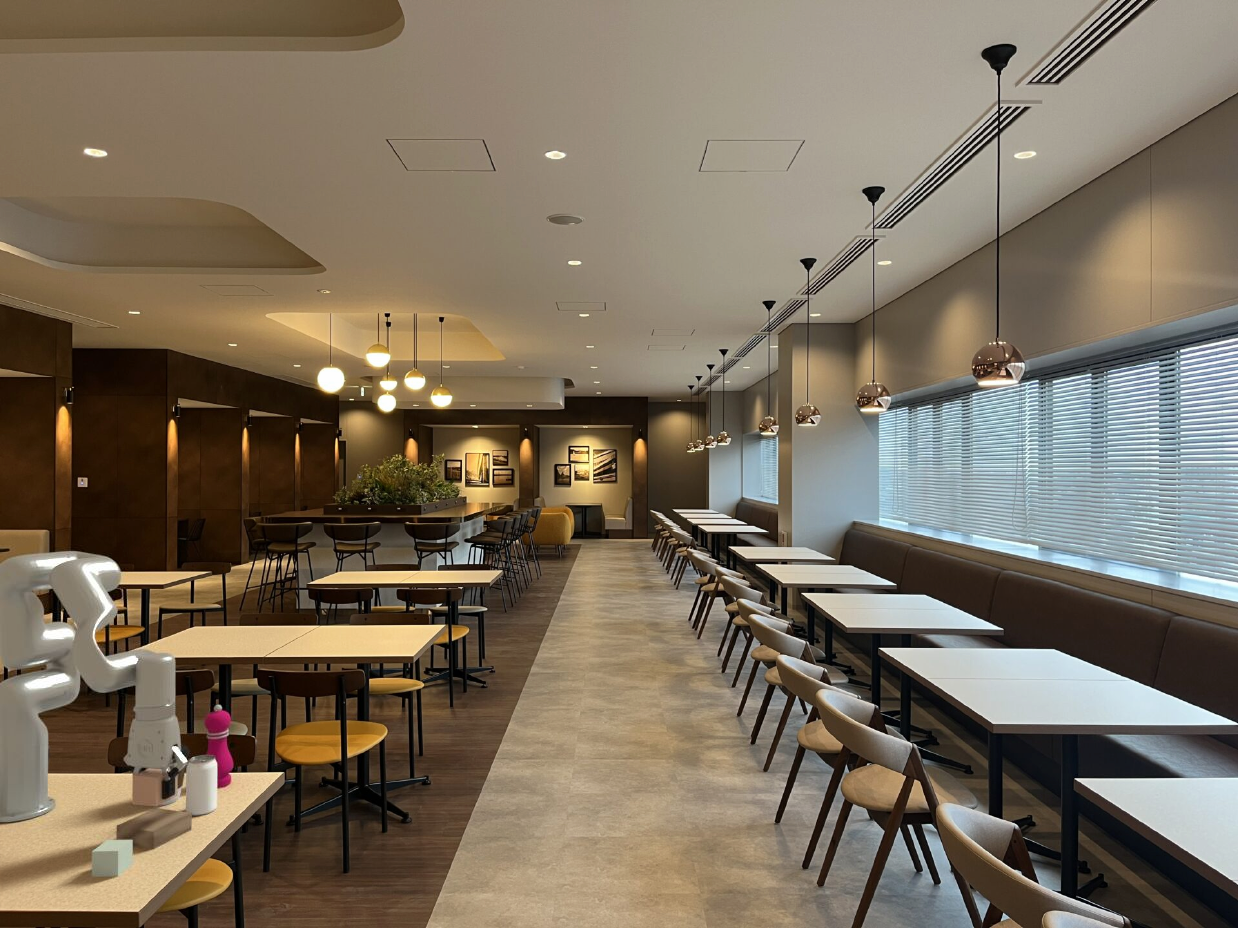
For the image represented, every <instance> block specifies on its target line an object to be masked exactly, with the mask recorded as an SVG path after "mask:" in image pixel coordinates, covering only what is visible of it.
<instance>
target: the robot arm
mask: <svg viewBox="0 0 1238 928" xmlns="http://www.w3.org/2000/svg"><path fill="white" fill-rule="evenodd" d="M121 581H122V572H121V568H120V566H119V565H118V563H117V562H116V561H114V560H113V559H112V558H110V557H109V556H105V555H101V554H94V553H88V552H82V551H75V550H66V551H54V552H42V553H40V552H38V553H29V554H23V555H17V556H13V557H9V558H7V559H6V560H5V559H4V561H2V562H1V563H0V660H1V663H2V665H3V666H4V667H5V668H6V669H9V670H23V669H28V668H33V667H34V668H35V667H38V666H43V665H46V669H43V670H38V671H37V670H36V671H31V672H28V673H23V674H18V675H15V676H12V677H9V678H7V679H5V680H3V681H1V682H0V823H12V822H20V821H25V820H29V819H33V818H36V817H39V816H42V815H45V814H46V813H48V812H50V811H52V810H54V808H55V807H56V805H57V804H56V802H57V801H56V799H55V798H54V797H50V796H49V795H48V794H49V793H48V791H49V790H48V789H49V784H48V783H49V781H48V780H49V731H48V727H47V725H45V723H44V722H43V720H42V719H41V718H40V717H39V714H40V713H43V712H46V711H50V710H55V709H58V708H61V707H64V706H67V705H69V704H71V703H72V702H74V701H75V700H76V699H77V697H78V695H79V693H80V690H81V687H80V686H81V678H82V679H83V681H84V682H85V684H86V685H87V686H88V687H89V688H90V689H91V690H92V691H94V692H97V693H110V692H114V691H117V690H121V689H124V688H128V687H133V686H135V705H134V706H133V709H132V710H133V712H135V718H133V719H132V721H131V725H130V729H129V735H128V743H127V754H126V755H125V756H124V757H123V762H124V763H126V765H127V766H128V769H129V770H130V772H131V773H132V776H133V775H135V774H137V773H140V772H142V771H144V770H146V769H148V768H152V769H161V770H162V774H163V777H164V779H165V780H163V781H162V799H164V800H165V799H167V798H169V797H171V796H173V795H175V777H177V776H178V774H179V773H180V771H181V770H182V769H183V768H184V767H185V766H186V767H187V765H188V763H189V762H188V760H187V758H185V757H184V756H183V754H182V753H181V745H182V743H181V742H182V741H181V731H180V725H179V720H178V717H177V716H176V658H175V656H174V655H173V654H171V653H169V652H155V651H152V650H148V649H146V648H145V649H143V648H140V649H139V648H138V649H135V650H134V649H133V650H128V651H123V652H119V653H115V654H110V655H106V656H105V655H104V653H103V652H102V650H101V648H100V647H99V645H98V643H97V641H96V633H97V632H99V631H100V630H102V629H104V628H105V627H106V626H108V625H109V624H110V623H111V622H112V621H113V620H114V619H115V618H116V616H117V615H118V607H117V605H116V604H115V602H114V600H113V599H112V597H111V595H109V593H108V592H112V591H113V590H115V589H117V588H118V586H119V585H120V583H121ZM51 589H53V592H54V593H55V595H56V596H57V598H58V599H59V601H60V603H61V605H62V606H63V608H64V609H65V610H66V612H67V614H68V616H69V617H70V619H71V620H72V622H73V624H74V625H75V627H76V629H74V627H73V626H72V625H71V624H70V623H67V622H65V621H64V622H63V621H53V622H47V623H45V616H44V615H45V609H44V606H43V605H44V604H43V603H42V601H41V599H39V597H38V596H37V595H36V594H35V591H42V590H51ZM176 762H177V765H175V763H176ZM168 767H170V772H169V770H168Z"/></svg>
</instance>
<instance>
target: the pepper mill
mask: <svg viewBox="0 0 1238 928" xmlns="http://www.w3.org/2000/svg"><path fill="white" fill-rule="evenodd" d="M213 710H214V711H211V712H209V713H208V714H207V716H206V717H205V718H204V727H205V728H206V730H207V732H206V734H207V735H206V739H208V746H207V747H208V748H207V752H206V754H205V755H213V756H215V760H216V762H217V789H221V788H225V787H227V786H229V785H230V784H232V775H231V774H230V773H231V772H232V770H233V768H234V760H233V756H232V755H231V752H230V750H229V748H228V743H227V741H228V739H227V738H228V736H229V735H230V734H229V731H230V730H229V728H228V727H230V726H231V724H232V723H231V722H232V718H231V715H230V713H229V712H227V711H226V710H223V707H222V705H221V704H217V705H215V706H214V707H213Z"/></svg>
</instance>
